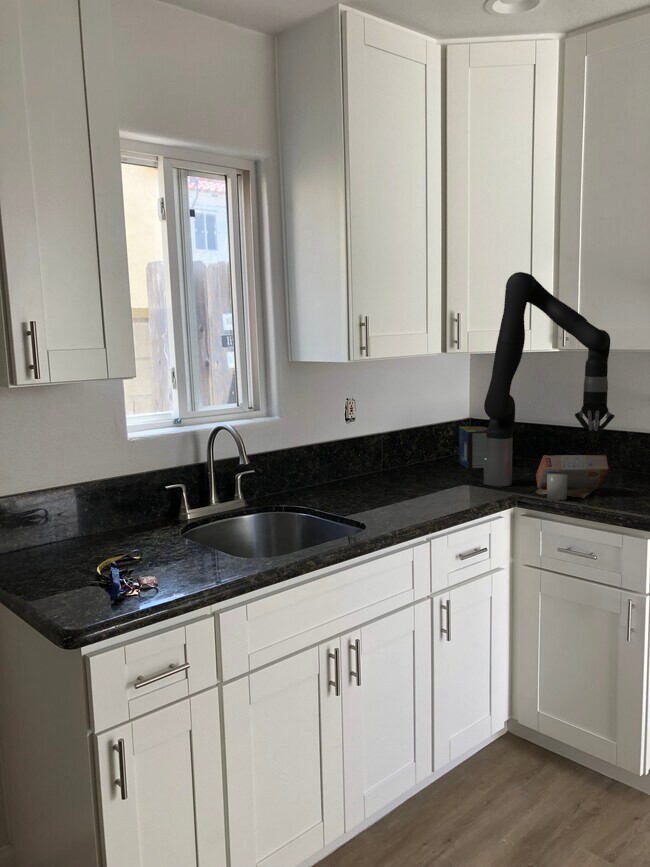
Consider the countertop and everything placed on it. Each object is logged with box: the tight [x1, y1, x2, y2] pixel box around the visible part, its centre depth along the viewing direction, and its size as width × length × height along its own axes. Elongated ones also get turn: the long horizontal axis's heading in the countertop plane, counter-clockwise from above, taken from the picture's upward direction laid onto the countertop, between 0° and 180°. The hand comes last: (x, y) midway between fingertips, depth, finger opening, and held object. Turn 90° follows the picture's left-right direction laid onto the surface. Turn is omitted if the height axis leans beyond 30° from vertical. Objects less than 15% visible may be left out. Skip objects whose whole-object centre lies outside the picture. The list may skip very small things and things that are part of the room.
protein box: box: [458, 425, 488, 470], centre depth 299 cm, size 10×15×16 cm
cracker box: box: [535, 454, 610, 489], centre depth 244 cm, size 14×6×21 cm
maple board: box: [535, 488, 597, 499], centre depth 248 cm, size 16×18×1 cm
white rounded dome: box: [546, 473, 568, 501], centre depth 237 cm, size 6×6×8 cm
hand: (593, 441), depth 242 cm, fingers closed
